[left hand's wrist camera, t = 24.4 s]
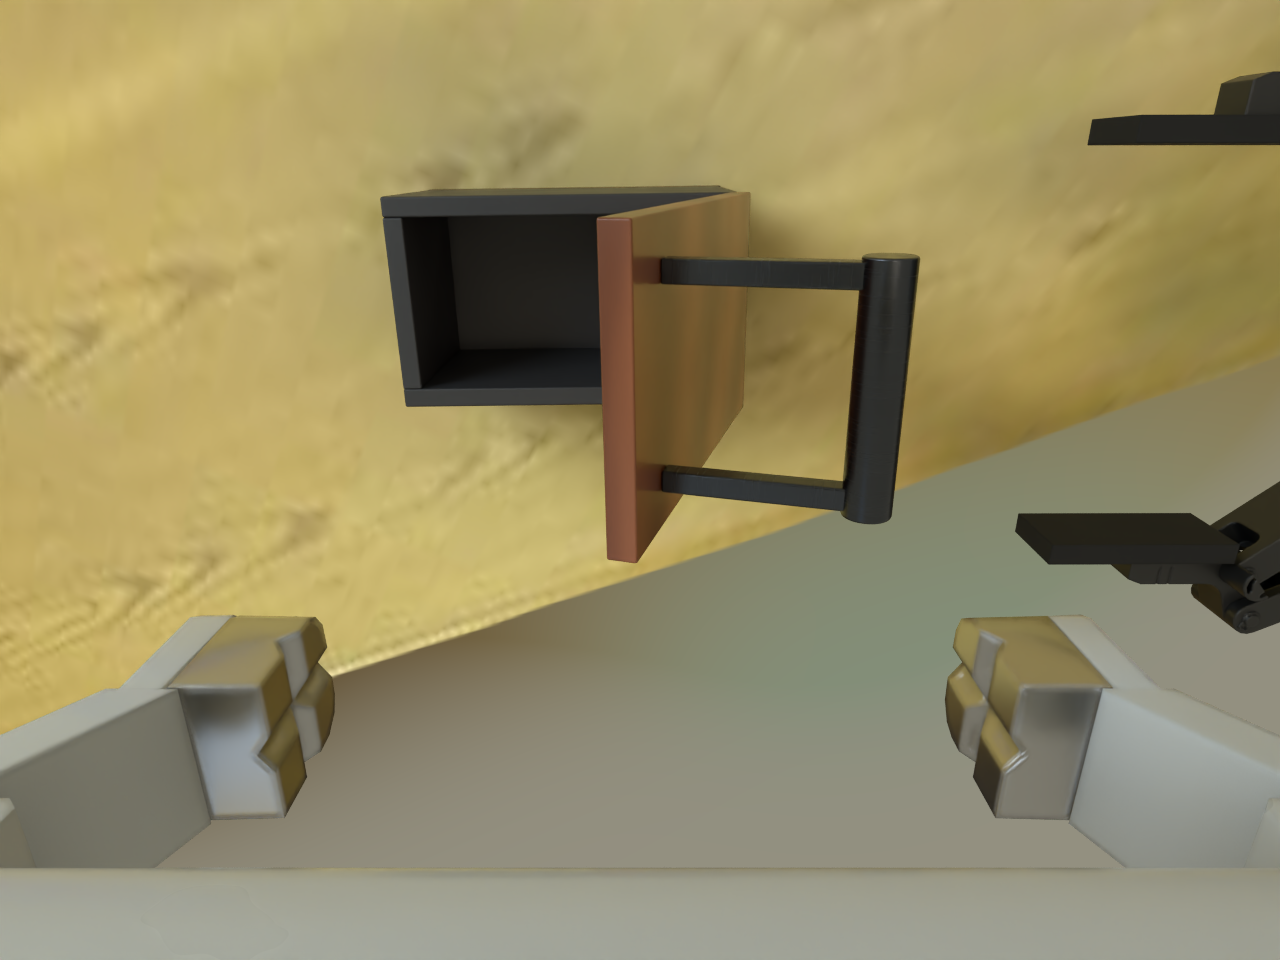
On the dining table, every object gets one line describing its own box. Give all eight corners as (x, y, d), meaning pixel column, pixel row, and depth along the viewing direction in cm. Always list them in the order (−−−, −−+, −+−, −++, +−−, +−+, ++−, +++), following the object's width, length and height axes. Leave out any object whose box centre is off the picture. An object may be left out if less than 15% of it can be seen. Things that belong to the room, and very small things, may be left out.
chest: (449, 361, 47) (405, 407, 38) (432, 189, 43) (379, 196, 34) (714, 357, 47) (732, 403, 38) (718, 185, 43) (738, 191, 34)
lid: (606, 560, 23) (884, 597, 21) (595, 217, 20) (927, 219, 17) (723, 405, 37) (895, 418, 35) (729, 192, 34) (919, 191, 32)
